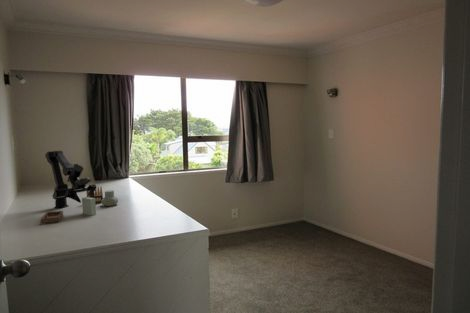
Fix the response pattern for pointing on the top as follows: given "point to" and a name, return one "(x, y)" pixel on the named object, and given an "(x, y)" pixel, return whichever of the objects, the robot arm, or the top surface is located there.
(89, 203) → the pale green rectangular block
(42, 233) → the top surface
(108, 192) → the air freshener
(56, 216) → the brown wooden tray
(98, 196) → the ammunition clip
